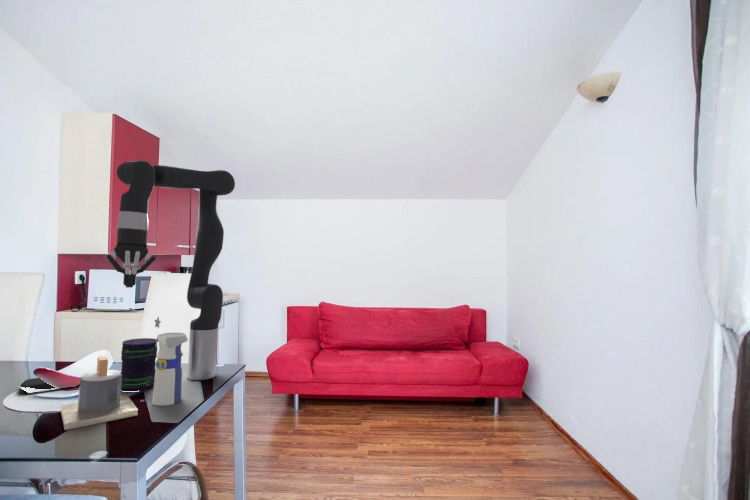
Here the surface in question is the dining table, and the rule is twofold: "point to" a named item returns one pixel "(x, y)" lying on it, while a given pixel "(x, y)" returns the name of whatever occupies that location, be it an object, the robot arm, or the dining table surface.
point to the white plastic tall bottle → (168, 368)
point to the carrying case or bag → (35, 384)
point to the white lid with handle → (101, 372)
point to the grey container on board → (98, 404)
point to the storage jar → (138, 364)
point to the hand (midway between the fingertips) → (129, 287)
